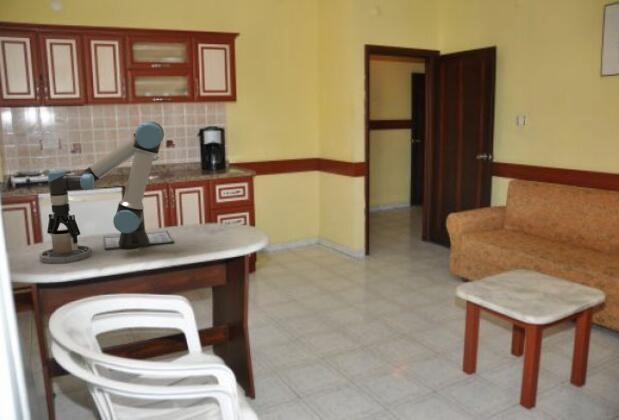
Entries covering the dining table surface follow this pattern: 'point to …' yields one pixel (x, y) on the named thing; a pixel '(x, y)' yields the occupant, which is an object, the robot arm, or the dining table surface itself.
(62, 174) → the robot arm
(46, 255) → the tray
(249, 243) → the dining table surface
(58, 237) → the planter
